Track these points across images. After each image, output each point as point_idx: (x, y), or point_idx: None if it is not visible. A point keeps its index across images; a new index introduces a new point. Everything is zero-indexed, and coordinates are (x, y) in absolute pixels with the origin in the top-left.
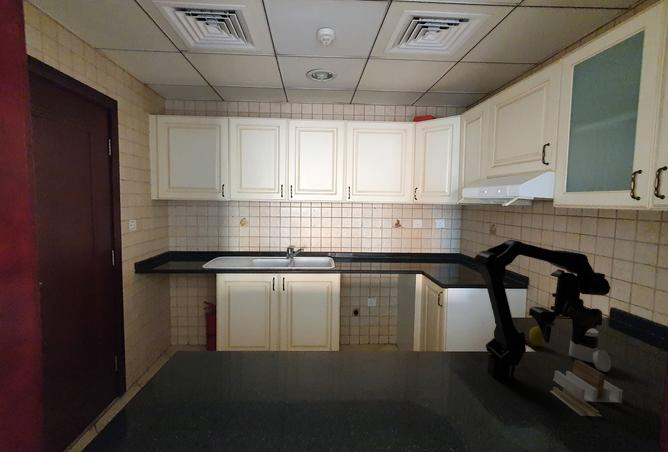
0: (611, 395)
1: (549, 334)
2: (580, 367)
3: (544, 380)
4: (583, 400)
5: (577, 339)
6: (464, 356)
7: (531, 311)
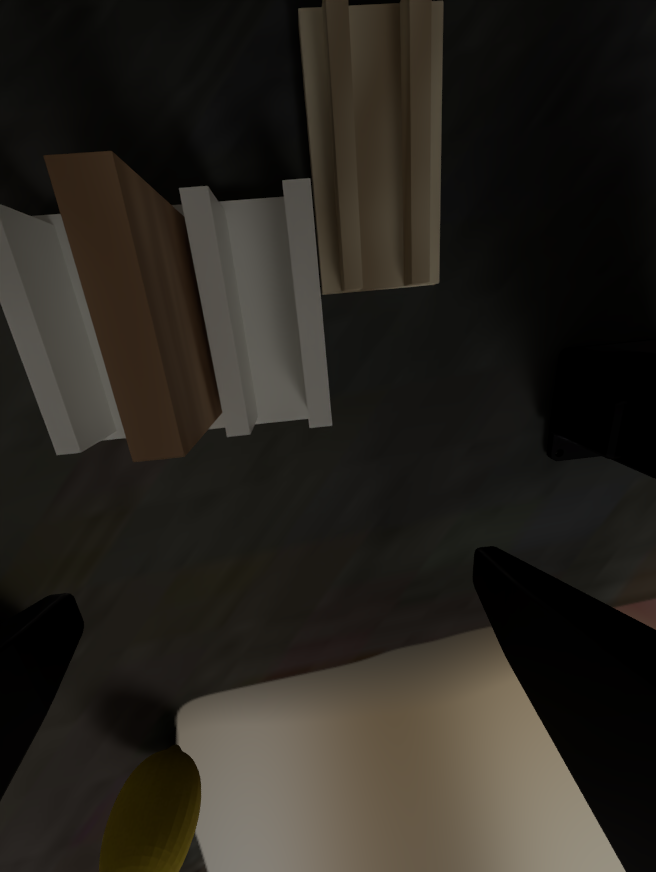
0: (62, 273)
1: (610, 634)
2: (180, 380)
3: (363, 420)
4: (336, 128)
5: (5, 664)
6: (636, 566)
7: None
